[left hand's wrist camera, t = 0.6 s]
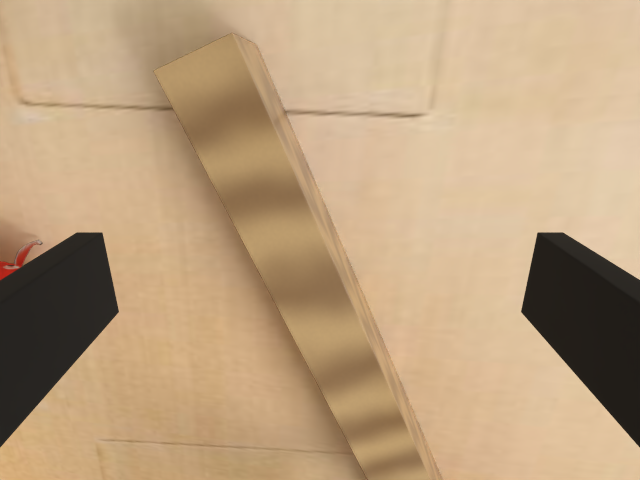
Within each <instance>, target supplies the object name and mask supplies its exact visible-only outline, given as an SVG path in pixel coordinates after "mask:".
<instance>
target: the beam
mask: <svg viewBox="0 0 640 480" xmlns="http://www.w3.org/2000/svg"><path fill="white" fill-rule="evenodd" d="M154 73H155V75H156V77H157V79H158V81H159V83H160V84H161V86H162V88H163V90H164V92H165V94H166V96H167V98H168V100H169V102H170V104H171V105H172V107H173V109H174V111H175V113H176V115H177V117H178V119H179V121H180V123H181V125H182V126H183V128H184V130H185V132H186V134H187V136H188V138H189V140H190V142H191V144H192V146H193V147H194V149H195V151H196V153H197V155H198V157H199V159H200V161H201V163H202V165H203V167H204V169H205V170H206V172H207V174H208V176H209V178H210V180H211V182H212V184H213V186H214V188H215V190H216V191H217V193H218V195H219V197H220V199H221V201H222V203H223V205H224V207H225V209H226V211H227V212H228V214H229V216H230V218H231V220H232V222H233V224H234V226H235V228H236V230H237V232H238V233H239V235H240V237H241V239H242V241H243V243H244V245H245V247H246V249H247V251H248V253H249V254H250V256H251V258H252V260H253V262H254V264H255V266H256V268H257V270H258V272H259V274H260V275H261V277H262V279H263V281H264V283H265V285H266V287H267V289H268V291H269V293H270V295H271V296H272V298H273V300H274V302H275V304H276V306H277V308H278V310H279V312H280V314H281V316H282V317H283V319H284V321H285V323H286V325H287V327H288V329H289V331H290V333H291V335H292V337H293V338H294V340H295V342H296V344H297V346H298V348H299V350H300V352H301V354H302V356H303V358H304V359H305V361H306V363H307V365H308V367H309V369H310V371H311V373H312V375H313V377H314V379H315V380H316V382H317V384H318V386H319V388H320V390H321V392H322V394H323V396H324V398H325V400H326V401H327V403H328V405H329V407H330V409H331V411H332V413H333V415H334V417H335V419H336V421H337V422H338V424H339V426H340V428H341V430H342V432H343V434H344V436H345V438H346V440H347V442H348V443H349V445H350V447H351V449H352V451H353V453H354V455H355V457H356V459H357V461H358V463H359V465H360V466H361V468H362V470H363V472H364V474H365V476H366V478H367V480H442V477H441V475H440V473H439V470H438V468H437V465H436V463H435V461H434V458H433V456H432V454H431V451H430V449H429V447H428V444H427V442H426V440H425V437H424V435H423V433H422V430H421V428H420V426H419V423H418V421H417V419H416V416H415V414H414V412H413V409H412V407H411V405H410V402H409V400H408V398H407V395H406V393H405V391H404V388H403V386H402V384H401V381H400V379H399V377H398V374H397V372H396V370H395V367H394V365H393V363H392V360H391V358H390V356H389V353H388V351H387V349H386V346H385V344H384V342H383V339H382V337H381V335H380V332H379V330H378V327H377V325H376V323H375V320H374V318H373V316H372V313H371V311H370V309H369V306H368V304H367V302H366V299H365V297H364V295H363V292H362V290H361V288H360V285H359V283H358V281H357V278H356V276H355V274H354V271H353V269H352V267H351V264H350V262H349V260H348V257H347V255H346V253H345V250H344V248H343V246H342V243H341V241H340V239H339V236H338V234H337V232H336V229H335V227H334V225H333V222H332V220H331V218H330V215H329V213H328V211H327V208H326V206H325V204H324V201H323V199H322V197H321V194H320V192H319V189H318V187H317V185H316V182H315V180H314V178H313V175H312V173H311V171H310V168H309V166H308V164H307V161H306V159H305V157H304V154H303V152H302V150H301V147H300V145H299V143H298V140H297V138H296V136H295V133H294V131H293V129H292V126H291V124H290V122H289V119H288V117H287V115H286V112H285V110H284V108H283V105H282V103H281V101H280V98H279V96H278V94H277V91H276V89H275V87H274V84H273V82H272V80H271V77H270V75H269V73H268V70H267V68H266V66H265V63H264V61H263V59H262V56H261V54H260V51H259V49H258V47H257V45H256V44H254V43H252V42H250V41H248V40H246V39H244V38H242V37H240V36H238V35H236V34H234V33H230V34H228V35H226V36H224V37H222V38H220V39H218V40H216V41H214V42H212V43H210V44H208V45H206V46H203V47H201V48H199V49H197V50H195V51H193V52H191V53H189V54H187V55H185V56H183V57H181V58H179V59H177V60H175V61H172V62H170V63H168V64H166V65H164V66H162V67H160V68H158V69H156V70H154Z"/></svg>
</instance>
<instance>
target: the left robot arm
mask: <svg viewBox="0 0 640 480" xmlns="http://www.w3.org/2000/svg"><path fill="white" fill-rule="evenodd" d="M118 312H119V310H118V306H117V301H116V296H115V291H114V286H113V282H112V277H111V272H110V267H109V262H108V257H107V253H106V248H105V243H104V238H103V233H75V234H74V235H72V236H71V237H69V238H67V239H66V240H64V241H63V242H61V243H59V244H58V245H56V246H54V247H53V248H51V249H50V250H48V251H46V252H45V253H43V254H42V255H40V256H38V257H37V258H35V259H33V260H32V261H30V262H29V263H27V264H25V265H24V266H22V267H21V268H19V269H17V270H16V271H14V272H12V273H11V274H9V275H8V276H6V277H4V278H3V279H1V280H0V447H1V446H2V445H3V444H4V442H5V441H6V440H7V439H8V438H9V437H10V436H11V435H12V433H13V432H14V431H15V430H16V429H17V428H18V427H19V425H20V424H21V423H22V422H23V421H24V420H25V419H26V417H27V416H28V415H29V414H30V413H31V412H32V411H33V409H34V408H35V407H36V406H37V405H38V404H39V403H40V401H41V400H42V399H43V398H44V397H45V396H46V395H47V393H48V392H49V391H50V390H51V389H52V388H53V387H54V385H55V384H56V383H57V382H58V381H59V380H60V379H61V377H62V376H63V375H64V374H65V373H66V372H67V371H68V369H69V368H70V367H71V366H72V365H73V364H74V363H75V361H76V360H77V359H78V358H79V357H80V356H81V355H82V353H83V352H84V351H85V350H86V349H87V348H88V347H89V345H90V344H91V343H92V342H93V341H94V340H95V339H96V337H97V336H98V335H99V334H100V333H101V332H102V331H103V329H104V328H105V327H106V326H107V325H108V324H109V323H110V321H111V320H112V319H113V318H114V317H115V316H116V315H117V313H118ZM521 312H522V313H523V315H524V316H525V317H526V318H527V319H528V320H529V321H530V323H531V324H532V325H533V326H534V327H535V328H536V329H537V331H538V332H539V333H540V334H541V335H542V336H543V337H544V339H545V340H546V341H547V342H548V343H549V344H550V345H551V347H552V348H553V349H554V350H555V351H556V352H557V353H558V355H559V356H560V357H561V358H562V359H563V360H564V361H565V363H566V364H567V365H568V366H569V367H570V368H571V369H572V371H573V372H574V373H575V374H576V375H577V376H578V377H579V379H580V380H581V381H582V382H583V383H584V384H585V385H586V387H587V388H588V389H589V390H590V391H591V392H592V393H593V395H594V396H595V397H596V398H597V399H598V400H599V401H600V403H601V404H602V405H603V406H604V407H605V408H606V409H607V411H608V412H609V413H610V414H611V415H612V416H613V417H614V419H615V420H616V421H617V422H618V423H619V424H620V425H621V427H622V428H623V429H624V430H625V431H626V432H627V433H628V435H629V436H630V437H631V438H632V439H633V440H634V441H635V442H636V444H637V445H638V446H639V447H640V280H639V279H637V278H636V277H634V276H632V275H631V274H629V273H628V272H626V271H624V270H623V269H621V268H619V267H618V266H616V265H615V264H613V263H611V262H610V261H608V260H607V259H605V258H603V257H602V256H600V255H598V254H597V253H595V252H594V251H592V250H590V249H589V248H587V247H586V246H584V245H582V244H581V243H579V242H577V241H576V240H574V239H573V238H571V237H569V236H568V235H566V234H565V233H537V238H536V243H535V248H534V253H533V257H532V262H531V267H530V272H529V277H528V282H527V286H526V291H525V296H524V301H523V306H522V310H521Z"/></svg>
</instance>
